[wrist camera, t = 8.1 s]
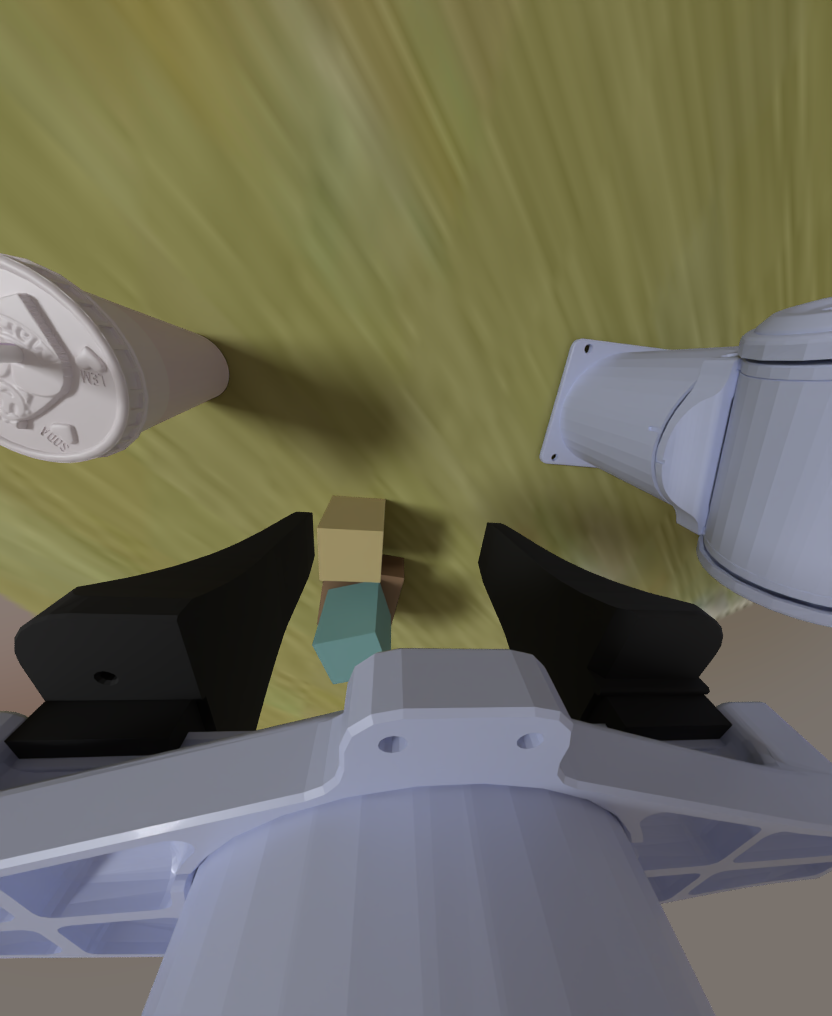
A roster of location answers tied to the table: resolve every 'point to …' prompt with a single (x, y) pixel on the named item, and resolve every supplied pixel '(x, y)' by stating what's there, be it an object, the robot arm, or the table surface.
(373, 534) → the mustard block
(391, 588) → the walnut slab
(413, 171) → the table surface
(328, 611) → the teal block
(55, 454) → the smoothie
